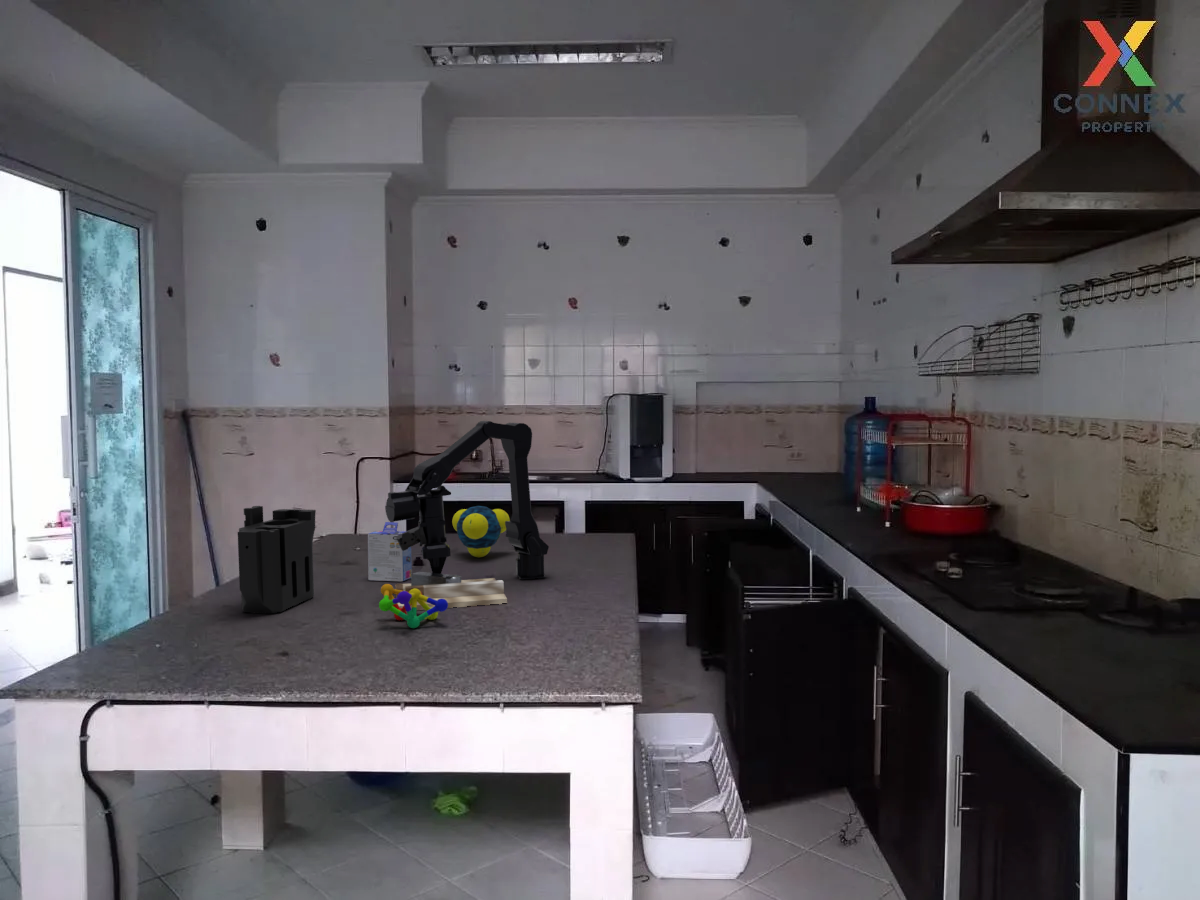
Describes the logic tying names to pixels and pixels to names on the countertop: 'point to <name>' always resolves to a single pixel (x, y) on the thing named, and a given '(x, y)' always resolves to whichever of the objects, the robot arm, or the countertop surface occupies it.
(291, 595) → the black machined bracket
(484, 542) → the toy
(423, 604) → the decorative model
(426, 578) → the latch bar
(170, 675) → the countertop surface
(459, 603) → the board
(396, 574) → the ink cartridge box
